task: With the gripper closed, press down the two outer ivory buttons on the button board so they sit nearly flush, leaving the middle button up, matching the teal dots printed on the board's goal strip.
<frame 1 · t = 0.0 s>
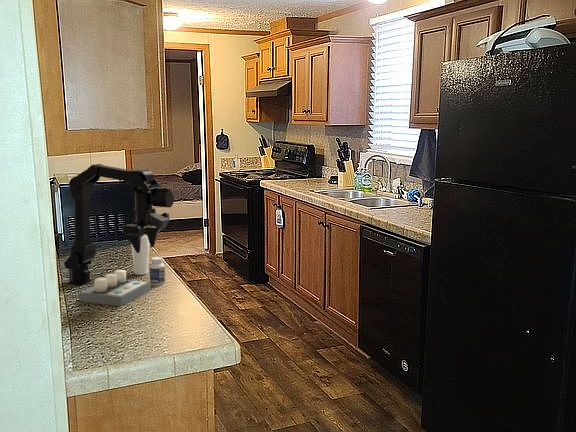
hand: (145, 249, 190), 15 cm above the worktop, fingers open, 9 cm apart
button a: (101, 285, 181), point 5 cm above the worktop, slide at 0.0 cm
white tall cylinder: (141, 274, 214), on the worktop
button c: (120, 276, 191), point 5 cm above the worktop, slide at 0.0 cm
button b: (110, 280, 186), point 5 cm above the worktop, slide at 0.0 cm
button board: (116, 295, 186), on the worktop
pill bottle: (157, 284, 201), on the worktop
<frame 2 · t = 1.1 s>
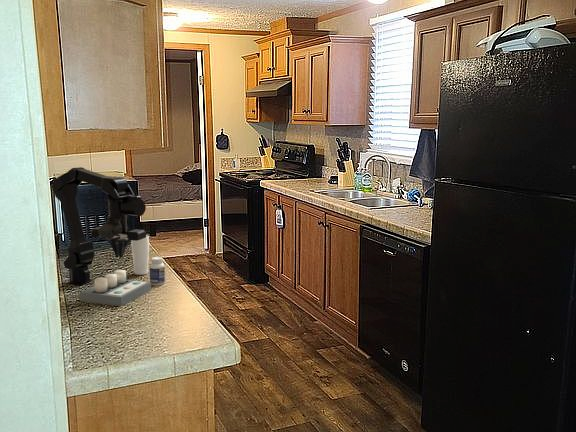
hand: (119, 257, 190), 12 cm above the worktop, fingers closed
nothing on the worktop moved.
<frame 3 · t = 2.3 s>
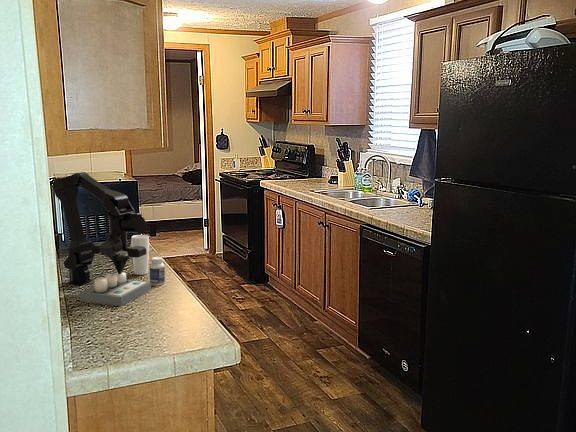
hand: (119, 273, 191), 6 cm above the worktop, fingers closed, pressing on button c
button c: (120, 278, 191), point 4 cm above the worktop, slide at 0.9 cm, touching gripper
everything else where it was.
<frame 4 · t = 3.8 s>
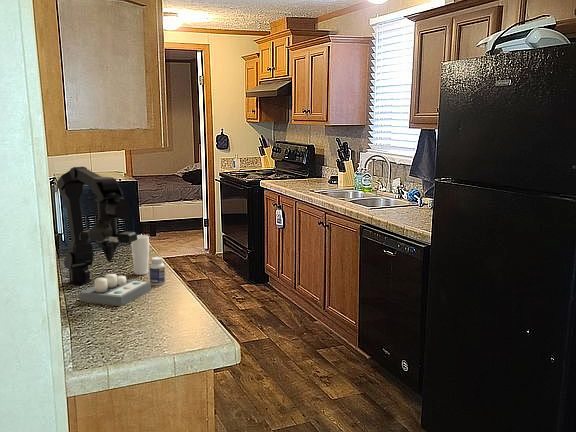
hand: (109, 261, 184), 12 cm above the worktop, fingers closed
button c: (120, 282, 191), point 3 cm above the worktop, slide at 2.3 cm
everything else where it was.
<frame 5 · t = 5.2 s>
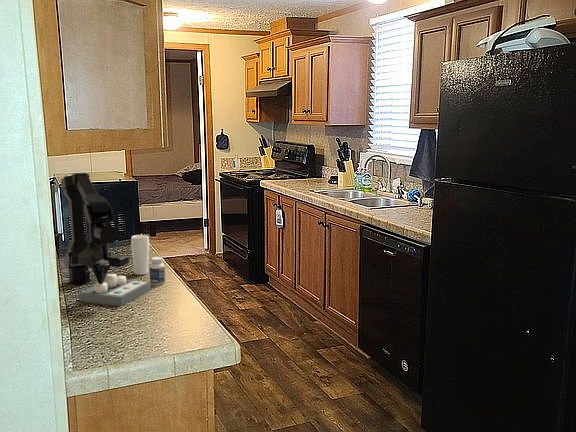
hand: (100, 284, 181), 5 cm above the worktop, fingers closed, pressing on button a
button a: (101, 289, 181), point 4 cm above the worktop, slide at 1.5 cm, touching gripper
everything else where it was.
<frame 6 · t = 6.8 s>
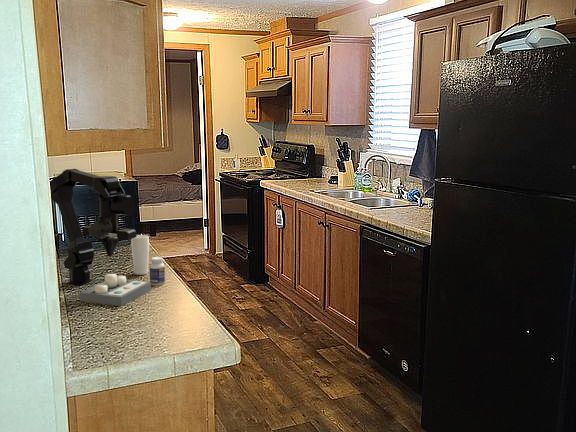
hand: (110, 256, 191), 12 cm above the worktop, fingers closed
button a: (101, 291, 181), point 3 cm above the worktop, slide at 2.2 cm
everything else where it was.
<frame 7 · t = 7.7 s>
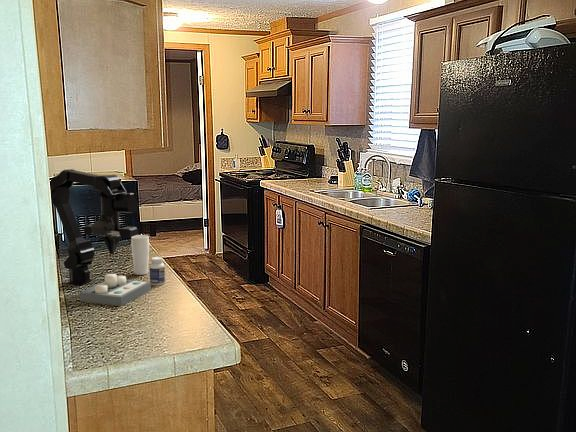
hand: (112, 254, 192), 13 cm above the worktop, fingers closed
nothing on the worktop moved.
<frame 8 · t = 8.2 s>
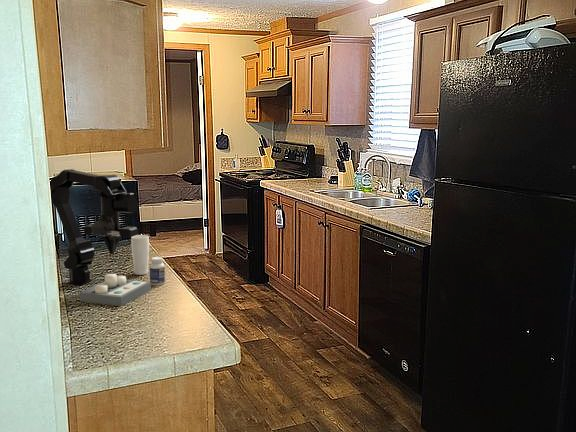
hand: (112, 254, 192), 13 cm above the worktop, fingers closed
nothing on the worktop moved.
at the end: button a slide at 2.2 cm; button c slide at 2.3 cm; button b slide at 0.0 cm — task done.
